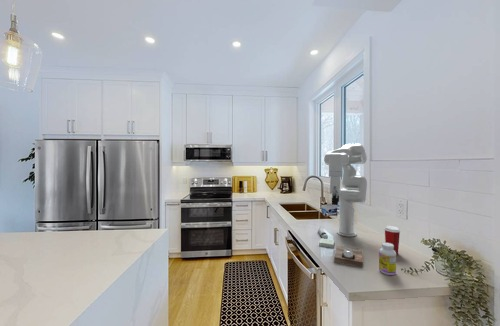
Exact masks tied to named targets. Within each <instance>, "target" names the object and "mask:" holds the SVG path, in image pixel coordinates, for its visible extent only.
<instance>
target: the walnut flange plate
mask: <svg viewBox="0 0 500 326" xmlns="http://www.w3.org/2000/svg"><path fill="white" fill-rule="evenodd" d="M345 249H349V250H352V251H353V259H348V258H344V250H345ZM363 256H364V255H363V250H362V249H359V248H358V249H356V248H351V247H344V246H340V245H339V246H338V245H337V246H336V248H335V252H334V257H333V263H337V264H341V265H348V266H353V267H360V268H364V258H363Z"/></svg>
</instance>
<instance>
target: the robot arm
mask: <svg viewBox="0 0 500 326" xmlns="http://www.w3.org/2000/svg"><path fill="white" fill-rule="evenodd" d="M367 158H368V157H367V153H366V149H365V147H364V145H362V144H361V143H355V144H354V143H352V144H351V143H348V144H344V145H343V146H341V148H338V149H333V150H330V151H328V152H327V153H326V154H325V155H324V159H323V160H324V163H325V164H326V165H327V166H328V177H330V179H329V181H330V182H329V183H330V184H329V194H331V205H332V206H339V207H338V209H339V210H338V212H339V213H338V215H339V216H338V223H339V224H338V226H339V227H338V229H337V230H336V233H337V234H338V235H339V236H344V237H348V238H349V237H351V238H352V237H356V236H357V232H356V231H355V208H354V206H353V205H352V204H364V203H365V202H366V200H367V199H366V198H367V188H368V182H367V181H368V180H367V178H366V177H365V176H363V175H357V169H356V168H355V167H354V166H353V165H363V164H366V162H367ZM341 178H342V182H341ZM341 185H342V187H343V188H341Z"/></svg>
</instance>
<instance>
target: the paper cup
mask: <svg viewBox="0 0 500 326" xmlns="http://www.w3.org/2000/svg"><path fill="white" fill-rule="evenodd" d="M383 230H384V241H385V242H384V243H390V244H393V245H394V249H393V250H394V251H395V252H396V256H397V255H399V247H400V246H399V245H400V233H401V230H400V228H399V227H397V226H392V225H386V226H385V227H384V229H383Z"/></svg>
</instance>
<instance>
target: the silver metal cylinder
mask: <svg viewBox="0 0 500 326" xmlns="http://www.w3.org/2000/svg"><path fill="white" fill-rule="evenodd" d="M344 258H348V259H353V251H352V250H349V249H345V250H344Z"/></svg>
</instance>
